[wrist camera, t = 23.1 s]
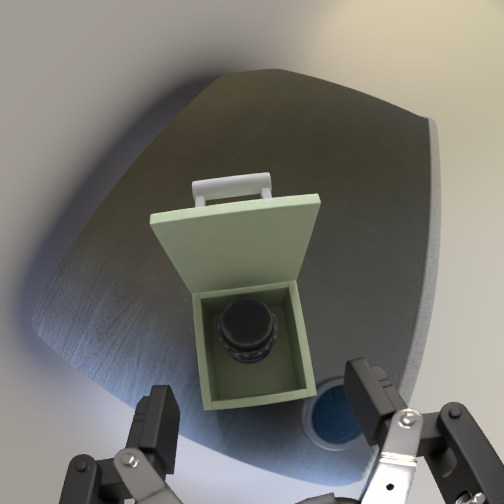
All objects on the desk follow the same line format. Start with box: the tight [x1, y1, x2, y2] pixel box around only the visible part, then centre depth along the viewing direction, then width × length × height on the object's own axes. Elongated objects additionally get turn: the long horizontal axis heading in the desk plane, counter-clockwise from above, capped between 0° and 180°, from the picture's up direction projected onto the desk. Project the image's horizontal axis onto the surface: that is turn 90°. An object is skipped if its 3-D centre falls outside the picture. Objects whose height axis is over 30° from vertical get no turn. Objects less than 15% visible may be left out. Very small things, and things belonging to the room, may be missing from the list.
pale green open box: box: [192, 280, 317, 411], centre depth 31 cm, size 13×11×8 cm
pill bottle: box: [217, 297, 278, 364], centre depth 30 cm, size 6×6×11 cm
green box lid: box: [150, 173, 321, 294], centre depth 25 cm, size 14×11×5 cm
